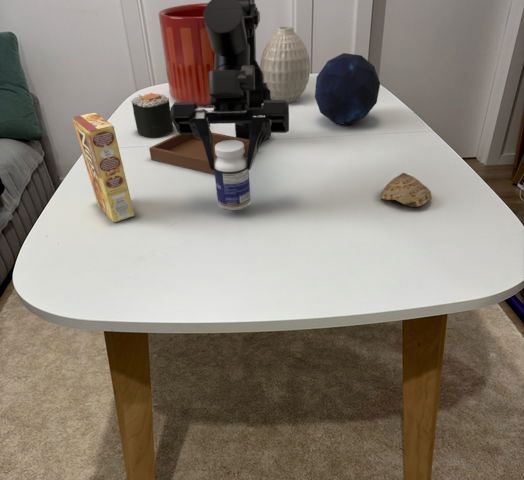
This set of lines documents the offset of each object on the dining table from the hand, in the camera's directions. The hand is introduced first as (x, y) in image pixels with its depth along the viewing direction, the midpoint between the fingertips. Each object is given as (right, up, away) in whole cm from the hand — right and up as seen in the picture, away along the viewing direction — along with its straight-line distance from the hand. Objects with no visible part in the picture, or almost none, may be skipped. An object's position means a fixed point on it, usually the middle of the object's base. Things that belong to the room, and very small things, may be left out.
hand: (230, 169), depth 82 cm
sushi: (-20, +23, +39) cm, 50 cm away
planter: (-9, +42, +60) cm, 74 cm away
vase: (+11, +38, +54) cm, 67 cm away
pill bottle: (0, -4, +6) cm, 7 cm away
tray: (-7, +12, +26) cm, 30 cm away
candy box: (-21, -5, +8) cm, 23 cm away
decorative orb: (+25, +25, +39) cm, 53 cm away
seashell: (+30, -3, +7) cm, 31 cm away
